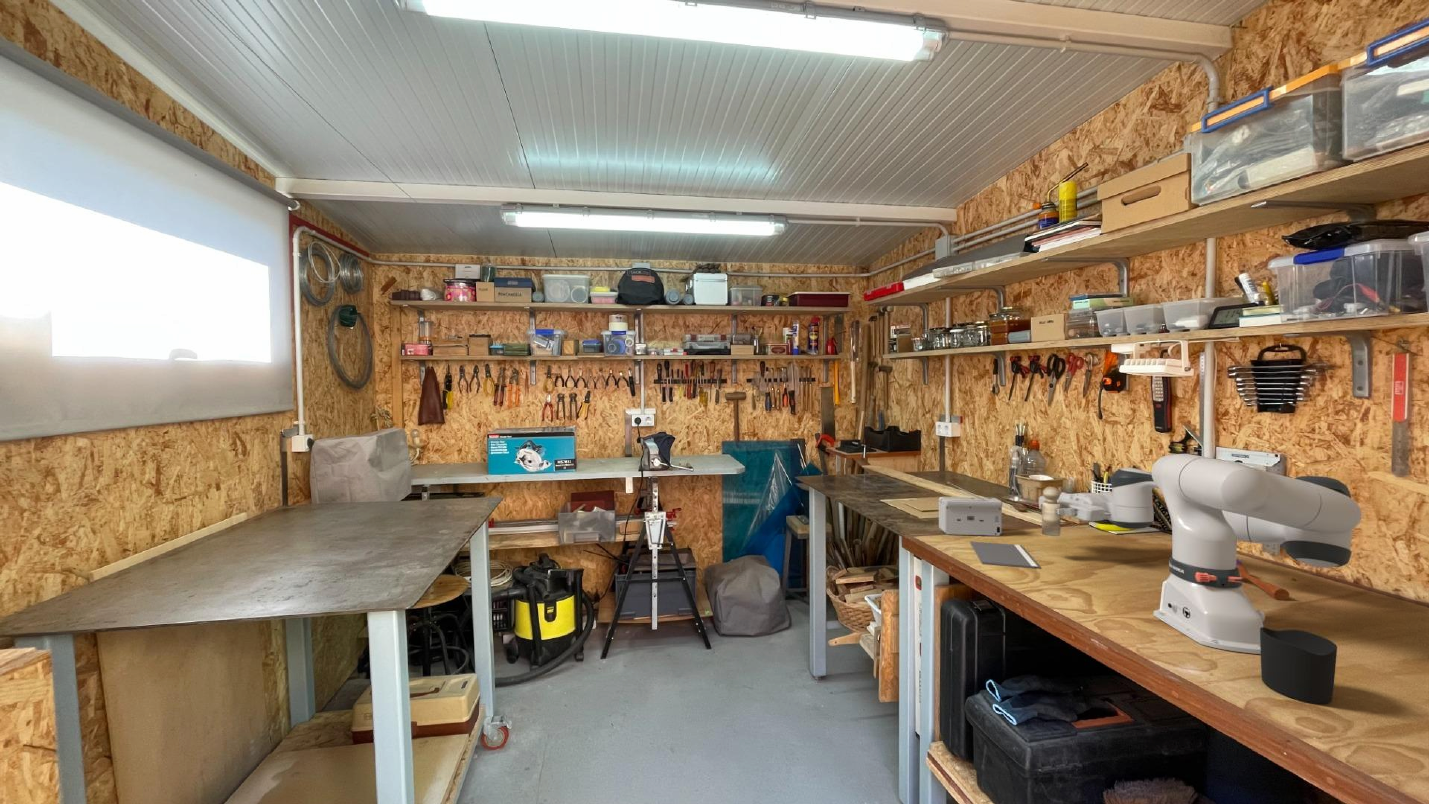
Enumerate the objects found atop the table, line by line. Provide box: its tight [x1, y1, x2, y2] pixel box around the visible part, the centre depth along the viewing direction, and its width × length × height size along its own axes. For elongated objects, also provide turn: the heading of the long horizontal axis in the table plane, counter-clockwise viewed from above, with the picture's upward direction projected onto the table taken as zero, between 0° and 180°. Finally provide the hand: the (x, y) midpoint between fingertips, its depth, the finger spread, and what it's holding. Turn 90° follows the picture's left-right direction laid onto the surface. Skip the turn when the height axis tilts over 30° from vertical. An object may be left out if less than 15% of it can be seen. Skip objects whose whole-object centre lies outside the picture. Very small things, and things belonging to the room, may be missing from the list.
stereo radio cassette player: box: [938, 481, 1003, 537], centre depth 196 cm, size 21×8×20 cm, turn 82°
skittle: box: [1041, 486, 1061, 537], centre depth 167 cm, size 5×5×15 cm
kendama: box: [1236, 558, 1290, 601], centre depth 144 cm, size 6×6×20 cm
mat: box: [970, 541, 1041, 569], centre depth 172 cm, size 22×16×1 cm
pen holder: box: [1260, 626, 1338, 705], centre depth 96 cm, size 9×9×10 cm
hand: (1048, 509), depth 167 cm, fingers closed on skittle, 5 cm apart
